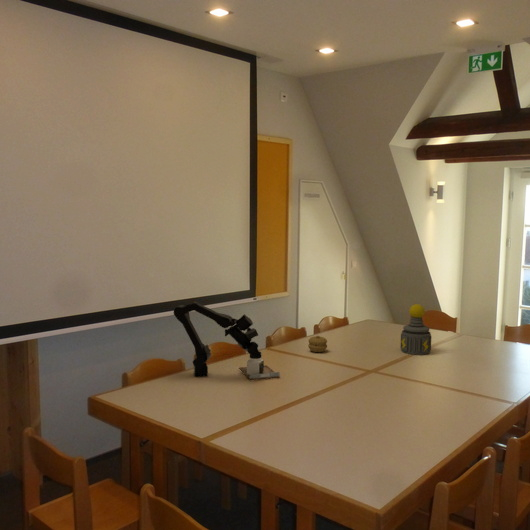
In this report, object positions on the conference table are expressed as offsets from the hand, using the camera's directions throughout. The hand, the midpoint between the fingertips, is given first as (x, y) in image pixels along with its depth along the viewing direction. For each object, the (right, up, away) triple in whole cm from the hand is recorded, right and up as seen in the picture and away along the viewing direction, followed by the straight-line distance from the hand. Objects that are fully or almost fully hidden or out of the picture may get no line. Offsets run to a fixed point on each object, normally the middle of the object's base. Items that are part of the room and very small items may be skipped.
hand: (258, 354), depth 302 cm
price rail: (+3, -11, -6) cm, 13 cm away
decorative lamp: (+98, -7, +55) cm, 112 cm away
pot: (+36, -7, +53) cm, 65 cm away
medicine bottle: (-2, -10, 0) cm, 10 cm away
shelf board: (0, -11, +4) cm, 11 cm away
